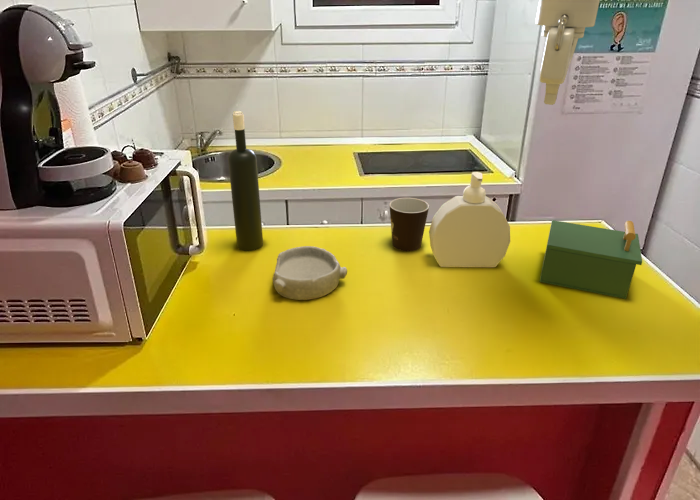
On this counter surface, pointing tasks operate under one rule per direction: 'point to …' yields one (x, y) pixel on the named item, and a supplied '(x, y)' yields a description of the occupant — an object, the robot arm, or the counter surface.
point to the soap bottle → (469, 230)
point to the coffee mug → (408, 222)
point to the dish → (307, 273)
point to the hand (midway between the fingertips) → (549, 103)
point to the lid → (596, 241)
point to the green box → (587, 273)
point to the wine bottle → (245, 190)
